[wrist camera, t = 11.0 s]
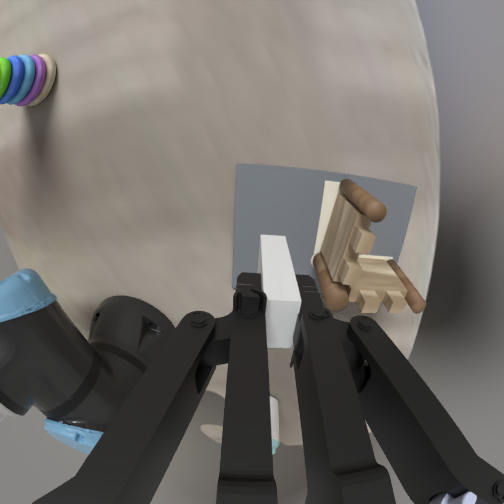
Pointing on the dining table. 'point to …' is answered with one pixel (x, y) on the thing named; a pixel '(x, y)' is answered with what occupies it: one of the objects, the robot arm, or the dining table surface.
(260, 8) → the dining table surface
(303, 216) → the card
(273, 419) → the can
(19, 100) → the stacking toy
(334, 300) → the fixed fence section
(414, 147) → the dining table surface
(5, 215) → the dining table surface
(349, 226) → the hinged fence panel
